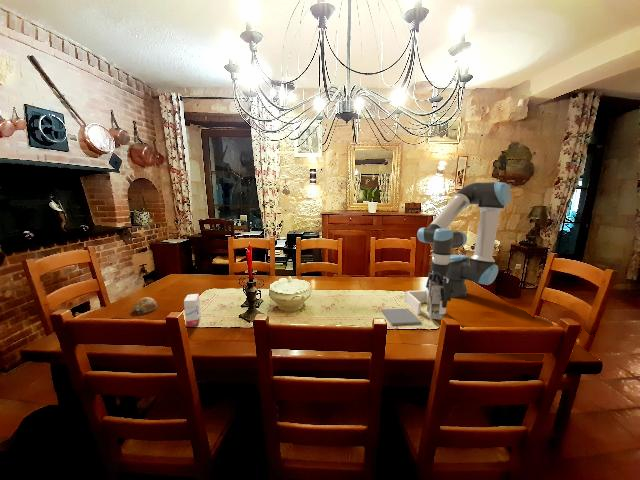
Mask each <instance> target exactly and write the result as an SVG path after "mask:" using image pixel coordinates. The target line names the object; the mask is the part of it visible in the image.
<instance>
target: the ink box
mask: <svg viewBox="0 0 640 480" xmlns="http://www.w3.org/2000/svg"><path fill="white" fill-rule="evenodd" d="M199 294H200V293H191V294H187V295H186V296H185V298H184V300H183V306H184V314H185V323H186V324H185V325H186V327H193V326H194V327H195V326H199V323H200V321H201V320H200V319H201V316H202V315H201V306H200V295H199Z"/></svg>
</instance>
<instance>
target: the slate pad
mask: <svg viewBox="0 0 640 480" xmlns="http://www.w3.org/2000/svg"><path fill="white" fill-rule="evenodd" d="M381 313H382V315H384V317H385V318H386V320H387V322H388V323H389V324H390V323H391V324H390V325H391V326H403V325H402V324H409V325H421V324H422V321H421V320H420V319H419V318H418V317H417V316H416V315H415V314H414V313H413V312H412V311H411V310H410V308H389V309H387V308H386V309H381ZM420 323H421V324H420Z"/></svg>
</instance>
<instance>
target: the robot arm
mask: <svg viewBox="0 0 640 480" xmlns="http://www.w3.org/2000/svg"><path fill="white" fill-rule="evenodd" d="M511 199H512V192H511V187H510V186H509V184H508V183H506V182H500V181H495V182H494V181H491V182H472V183H470V184H467V185H464V187H462V188H461V189H459V190H458V191H456V192H455V193H454V195H453V196H452V197H451V200H450V201H449V203H447V205H446V206H445V207H444V208H443V210H442V211H441V212H440V213H439V214H438V215H437V216H436V217H435V218H434V219H433V220H432V222H431V223H430V224H429V225H428V226H427V227H420V228H419V229H418V230H417V233H416V236H417V239H418V241H419V242H421V243H426V244H431V245H432V253H431V254H432V255H431V265H430V269H429V272H428V277H427V281H426V285H425V288H427V291H429V280H430V279H431V280H432V281H436V282H437V283H438V285H443V288H441V291H440V293H441V300H440V308H439V314H445V315H446V313H447V306H448V302H451V301H452V299H451V298H460V299H461V298H466V297H467V295H468V289H467V286H466V281H470V282H474V283H477V284H479V285H480V284H481V285H486V286H488V285H491V284H492V283H494V282H495V280H496V277H497V276H498V274H499V266H498V265H497V264H495V263H496V260H495V259H494V257H493V256H494V250H495V249H494V248H495V244H496V237H497V231H498V226H499V225H498V224H499V219H500V212H502V211H503V210H504V209H505V206H508V205H510V202H511ZM470 205H477V208H478V209H479V211H480V214H479V219H478V226H477V227H478V228H477V233H476V239H475V245H474V252H473V255H471V256H470V257H469V256H468V255H465V254H452V249H456V248H461V247H463V246H465V245H466V244H467V242H468V236H467V234H466V233H465V232H463V231H458V230H455V231H453V229H450V228H449V226H450V225H451V224H452V223H453V221H454V220H455V219H456V218H457V217H458V216H459V214H460V213H461V212H462V211H463V210H464V209H467V208H469V206H470ZM427 303H428V301H427ZM427 303H426V304H427Z"/></svg>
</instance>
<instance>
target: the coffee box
mask: <svg viewBox="0 0 640 480" xmlns="http://www.w3.org/2000/svg"><path fill="white" fill-rule="evenodd" d="M441 288H443V285H438V283H437V282H436V281H432V280H431V279H430V280H429V291H428V290H427V291H428V303H426V312H427V314H428V316H429V319H432V320H433V319H435V320H442V318H444V319H445V318H446V317H445V316H446V314H439V308H440V300H441V293H440V291H441Z"/></svg>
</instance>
